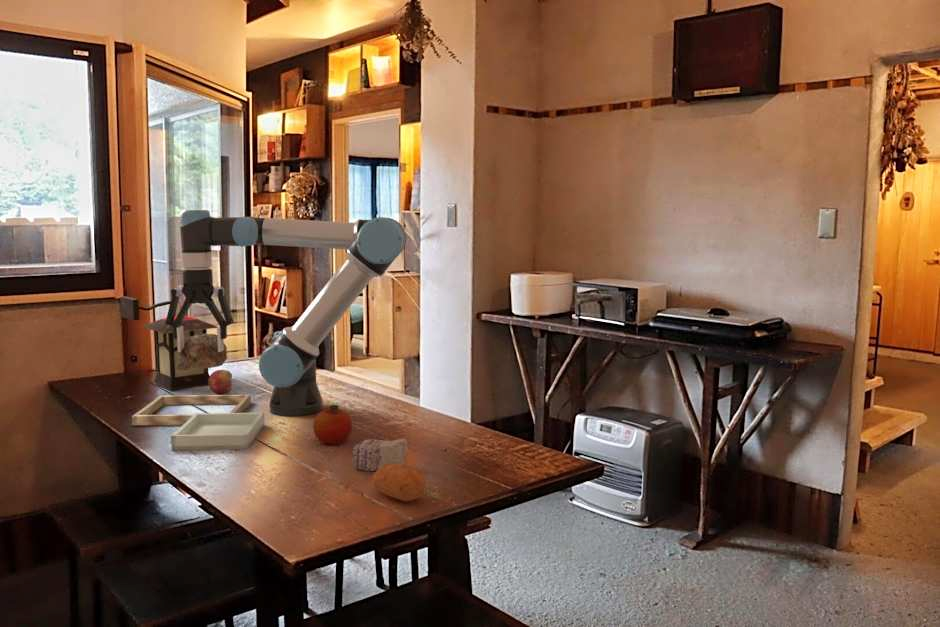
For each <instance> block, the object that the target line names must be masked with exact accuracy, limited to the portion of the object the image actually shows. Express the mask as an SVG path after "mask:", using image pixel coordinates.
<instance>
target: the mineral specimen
mask: <svg viewBox="0 0 940 627" xmlns="http://www.w3.org/2000/svg"><path fill="white" fill-rule="evenodd" d="M352 450H353V451H352V458H351V459H352V460H351V461H352V463H353V466H354V468H355V469H357V470H360V471H361V470H362V471H364V472H374V471H377V470H378V469H379V468H381V467H383V466H385V465H388V464H403V465H405V462H407V458H408V452H409V443H408V440H407V439H406V438H397V439H394V440H383V439H382V440H380V439H374V438H372V439H371V438H366V439H365V440H363V441H361V442H360V443H358V444H357V443H356V444H355V446H353V449H352Z"/></svg>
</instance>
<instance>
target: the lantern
mask: <svg viewBox="0 0 940 627" xmlns="http://www.w3.org/2000/svg"><path fill="white" fill-rule="evenodd" d="M119 299H120V300H119V301H120V315H121V317H122V318H124V319H128V320H132V321H140V310H142V311H148V312H149V311H152V310H154V309H156V308H158V307H164V306H167V305H170V302H171V300H166V301H162V302H158V303H155V304H152V305H151V306H148V307H143V306H140V304H139V299H138V298H133V297H131V296H130V297H129V296H120V298H119ZM178 305H179V308H180V309H179V310H181V308H182V306H181V303H180V300H179V301H178ZM176 314H177V313H175V318H174V321H175V319H176V317H177V315H176ZM166 319H167V317H164V318H163V317H162V318H160V319H157V320H155V321H152V322H149V323H147V324H145V325H141V328H144V329H148V330H151V331H154V335H155V337H154V339H155V356H156V360H155V361H156V374H155V378H154V382H153V383H154V384H155V385H156V386H159V387H162V388H164V389H166V390H167V391H170V392H173V391H174V392H175V391H180V390H181V391H182V390H188V389H195V388H200V387H207V386H208V387H209V385H208V379H209V377H210V374H209V368H205V369H191V370H178V369H177V364H178V362H179V361H178V358H179V353H180V352H178V345H177V339H174V333H173V327H172V326H170V325H166ZM180 326H183V334H184V347H185V342H186V341H187V339H188V338H189V337H191V336H195V335H201V334H208V333H207V332H208V331H207V330H208V329H209V330H210V329H211V330H213V329H217V328H218V327H219V326H217V325H214V324H211V323H210V322H207V321H204V320H202V319H199V318H195V317H191V316H188V315H185V317H184V318H183V320H182V322H181V325H180Z"/></svg>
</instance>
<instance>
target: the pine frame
mask: <svg viewBox="0 0 940 627" xmlns="http://www.w3.org/2000/svg"><path fill="white" fill-rule="evenodd" d="M251 403H252V395H251V394H225V395H217V394H195V395H193V394H191V395H189V394H188V395H187V394H186V395H181V394H180V395H159V396H158V397H157V398H155V399H154V400H152V401H151V402H150V403H148V404H147V405H145V406H144V407H142V409H140V410H139V411H137V412H136V413H134V414H133V415H132V416H131V421H132V422H131V426H178V425H180V426H182V425H184V424H185V423H186V422H187V421H188V420H189V419H190V418H191V417H192V416H193V415H194V414H195V413H192V414H189V413H187V414H185V413H184V414H154V413H155V412H156V411H158V410H159V409H160V408H162V407H163V406H167V405H169V406H173V405H175V406H176V405H177V406H179V405H180V406H182V405H183V406H184V405H185V404H189V405H236V406H235V407H234V408H233V409H232V410H231V411H230V412H229V413H244V411H245V410H247V408H248V407H249V406H250V404H251Z"/></svg>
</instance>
